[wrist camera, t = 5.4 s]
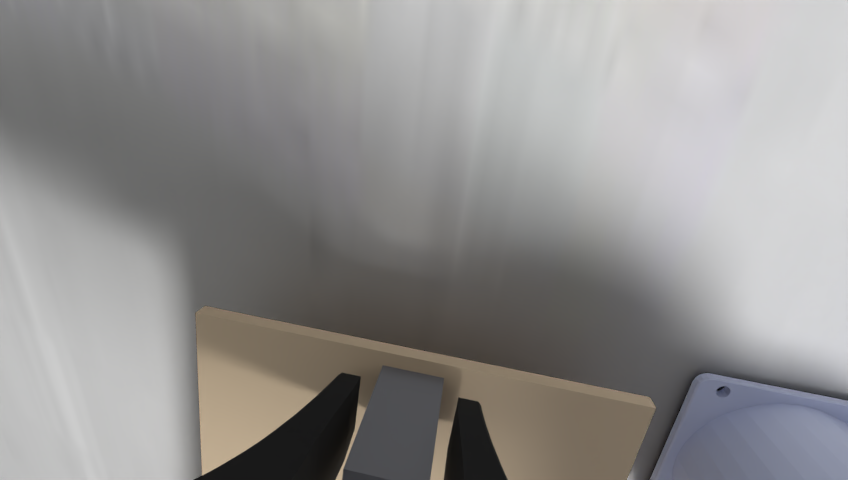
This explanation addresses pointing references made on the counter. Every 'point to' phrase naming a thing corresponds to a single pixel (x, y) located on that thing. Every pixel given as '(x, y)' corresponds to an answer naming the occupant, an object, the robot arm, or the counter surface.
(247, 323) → the sliding lid
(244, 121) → the counter surface
